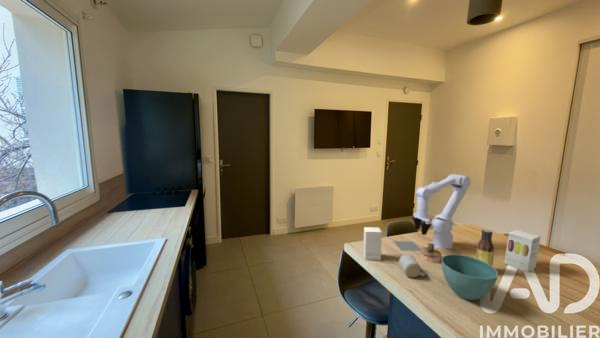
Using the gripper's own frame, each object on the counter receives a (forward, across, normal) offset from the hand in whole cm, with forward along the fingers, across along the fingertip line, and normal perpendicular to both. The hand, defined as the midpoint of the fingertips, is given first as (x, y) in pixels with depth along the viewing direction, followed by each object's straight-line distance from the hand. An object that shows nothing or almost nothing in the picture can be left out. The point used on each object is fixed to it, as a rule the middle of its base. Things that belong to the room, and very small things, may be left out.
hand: (420, 231), depth 133 cm
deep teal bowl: (+10, +40, -1) cm, 41 cm away
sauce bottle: (+10, +22, +20) cm, 31 cm away
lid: (+7, +12, 0) cm, 14 cm away
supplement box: (+10, +17, +42) cm, 46 cm away
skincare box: (+10, +12, -31) cm, 35 cm away
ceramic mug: (+10, +26, -16) cm, 32 cm away
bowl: (+10, +12, 0) cm, 16 cm away
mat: (+10, -2, -6) cm, 12 cm away
